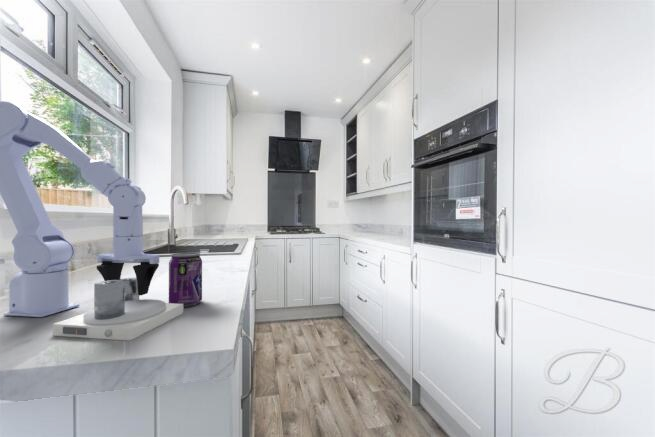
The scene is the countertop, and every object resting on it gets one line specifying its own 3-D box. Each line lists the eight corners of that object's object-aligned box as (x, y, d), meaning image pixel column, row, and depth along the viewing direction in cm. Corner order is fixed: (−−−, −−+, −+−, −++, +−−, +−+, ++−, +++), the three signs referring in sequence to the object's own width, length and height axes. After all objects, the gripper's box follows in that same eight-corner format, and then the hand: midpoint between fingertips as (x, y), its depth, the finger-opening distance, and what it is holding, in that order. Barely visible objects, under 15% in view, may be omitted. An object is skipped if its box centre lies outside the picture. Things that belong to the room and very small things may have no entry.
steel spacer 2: (111, 307, 65) (111, 281, 65) (127, 301, 70) (127, 277, 70) (128, 308, 65) (128, 281, 65) (143, 302, 69) (143, 277, 69)
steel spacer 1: (87, 319, 50) (87, 284, 50) (109, 311, 54) (110, 279, 54) (109, 320, 49) (110, 285, 49) (130, 312, 54) (130, 279, 54)
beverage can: (188, 309, 64) (188, 256, 64) (161, 307, 65) (161, 255, 65) (208, 300, 71) (208, 252, 71) (183, 299, 72) (183, 251, 72)
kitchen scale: (50, 336, 49) (50, 320, 49) (121, 309, 64) (121, 297, 64) (128, 341, 47) (128, 324, 47) (183, 313, 62) (183, 300, 62)
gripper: (168, 235, 70) (168, 290, 70) (115, 234, 72) (115, 288, 72) (146, 237, 63) (146, 298, 63) (88, 236, 65) (89, 296, 65)
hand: (128, 293), depth 67 cm, fingers open, 7 cm apart
